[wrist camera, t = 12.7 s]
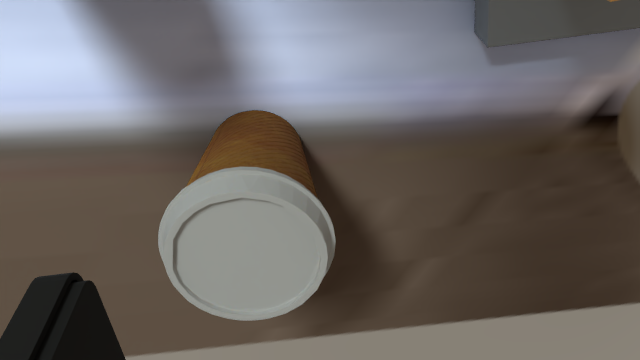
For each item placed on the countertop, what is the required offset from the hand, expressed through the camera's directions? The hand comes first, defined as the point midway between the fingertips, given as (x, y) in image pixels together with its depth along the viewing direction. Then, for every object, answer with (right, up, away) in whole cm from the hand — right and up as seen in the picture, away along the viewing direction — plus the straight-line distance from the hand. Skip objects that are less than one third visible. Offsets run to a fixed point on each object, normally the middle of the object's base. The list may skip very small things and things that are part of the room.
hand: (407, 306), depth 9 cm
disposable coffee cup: (-6, +4, +33) cm, 34 cm away
